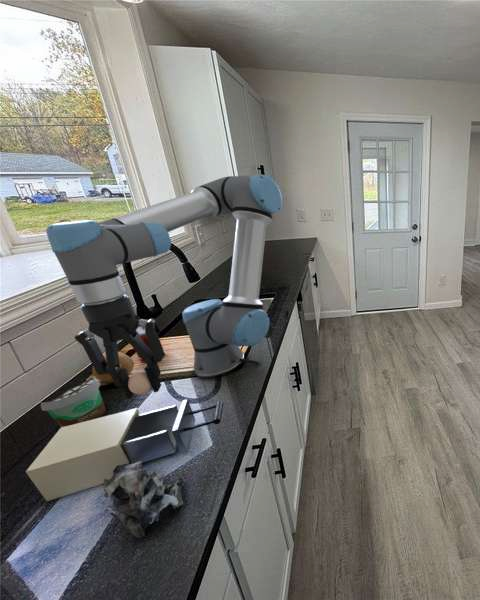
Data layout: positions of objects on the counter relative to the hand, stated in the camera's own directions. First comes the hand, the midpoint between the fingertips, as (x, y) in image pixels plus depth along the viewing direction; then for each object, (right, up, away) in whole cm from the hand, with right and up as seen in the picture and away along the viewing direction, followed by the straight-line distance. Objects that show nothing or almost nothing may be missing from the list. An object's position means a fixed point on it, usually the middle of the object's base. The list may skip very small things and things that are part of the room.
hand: (144, 391), depth 73 cm
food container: (-26, -12, +14) cm, 32 cm away
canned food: (-34, 0, +45) cm, 56 cm away
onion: (-34, -5, +31) cm, 47 cm away
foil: (+10, -20, -11) cm, 25 cm away
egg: (0, 0, 0) cm, 0 cm away
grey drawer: (+5, -13, +4) cm, 14 cm away
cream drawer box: (-9, -17, -1) cm, 19 cm away
